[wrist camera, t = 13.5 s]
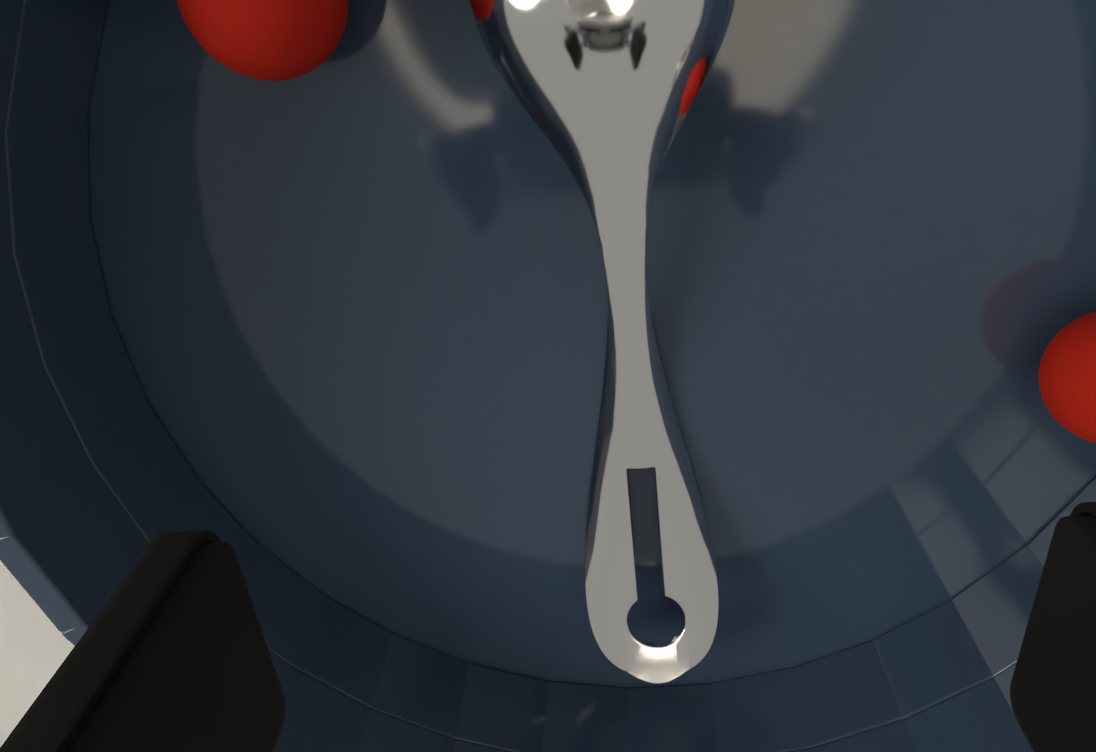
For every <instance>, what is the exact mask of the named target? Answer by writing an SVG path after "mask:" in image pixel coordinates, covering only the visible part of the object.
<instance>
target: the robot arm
mask: <svg viewBox="0 0 1096 752" xmlns="http://www.w3.org/2000/svg"><path fill="white" fill-rule="evenodd" d="M1010 700H1011V706H1012V709H1013V713H1014V715H1015V718H1016V720H1017V722H1018V724H1019V726H1020V727H1021V729H1022V731H1023V733H1024V735H1025V737H1026V738H1027V740H1028V742H1029V744H1030V746H1031V748H1032V749H1033V751H1034V752H1096V502H1084V503H1080V504H1078V505H1077V506H1076V507H1075V508H1074V509H1073V510H1072V512H1071V514H1070V516H1066V517H1062V518H1060V519H1059V520H1058V522H1057V524H1056V526H1055V529H1054V532H1053V536H1052V539H1051V543H1050V546H1049V550H1048V554H1047V557H1046V561H1045V564H1044V568H1043V571H1042V575H1041V578H1040V582H1039V585H1038V589H1037V592H1036V596H1035V599H1034V603H1033V606H1032V610H1031V613H1030V617H1029V620H1028V624H1027V628H1026V631H1025V635H1024V638H1023V642H1022V645H1021V649H1020V652H1019V656H1018V659H1017V663H1016V666H1015V670H1014V673H1013V677H1012V680H1011V684H1010ZM285 709H286V705H285V697H284V693H283V690H282V687H281V684H280V681H279V679H278V676H277V673H276V670H275V667H274V664H273V661H272V658H271V655H270V652H269V649H268V646H267V644H266V641H265V638H264V635H263V632H262V629H261V626H260V623H259V620H258V617H257V614H256V612H255V609H254V606H253V603H252V600H251V597H250V594H249V591H248V588H247V585H246V582H245V580H244V577H243V574H242V571H241V568H240V565H239V562H238V559H237V556H236V553H235V551H234V549H233V547H232V546H231V545H230V544H229V543H225V542H223V543H221V541H220V539H219V537H218V535H217V534H215V533H214V532H213V531H179V532H164V533H161V534H159V535H158V536H157V537H156V538H155V539H154V540H153V541H152V542H151V543H150V545H149V546H148V547H147V549H146V550H145V551H144V553H143V554H142V556H141V557H140V558H139V560H138V561H137V562H136V564H135V565H134V566H133V568H132V569H131V571H130V572H129V573H128V575H127V576H126V577H125V579H124V580H123V581H122V583H121V584H120V586H119V587H118V588H117V590H116V591H115V592H114V594H113V595H112V596H111V598H110V599H109V601H108V602H107V603H106V605H105V606H104V607H103V609H102V610H101V611H100V613H99V614H98V615H97V617H96V618H95V620H94V621H93V622H92V624H91V625H90V626H89V628H88V629H87V630H86V632H85V633H84V635H83V636H82V637H81V639H80V640H79V641H78V643H77V644H76V645H75V647H74V648H73V650H72V651H71V652H70V654H69V655H68V656H67V658H66V659H65V660H64V662H63V663H62V665H61V666H60V667H59V669H58V670H57V671H56V673H55V674H54V675H53V677H52V678H51V680H50V681H49V682H48V684H47V685H46V686H45V688H44V689H43V690H42V692H41V693H40V695H39V696H38V697H37V699H36V700H35V701H34V703H33V704H32V705H31V707H30V708H29V710H28V711H27V712H26V714H25V715H24V716H23V718H22V719H21V720H20V722H19V723H18V725H17V726H16V727H15V729H14V730H13V731H12V733H11V734H10V735H9V737H8V738H7V740H6V741H5V742H4V744H3V745H2V746H1V748H0V752H273V751H274V748H275V745H276V743H277V740H278V738H279V735H280V733H281V730H282V727H283V724H284V719H285Z"/></svg>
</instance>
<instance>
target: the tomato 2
mask: <svg viewBox="0 0 1096 752" xmlns="http://www.w3.org/2000/svg"><path fill="white" fill-rule="evenodd" d="M1038 382H1039V390H1040V393H1041V397H1042V399H1043V401H1044V403H1045V406H1046V407H1047V409H1048V410H1049V412H1050V413H1051V415H1052V416H1053V417H1054V418H1055V419H1056V420H1057V422H1058V423H1059V424H1061V425H1062V426H1063V427H1064V428H1065V429H1067V430H1068V431H1070V432H1071V433H1073V434H1074V435H1076V436H1078V437H1080V438H1082V439H1084V440H1087V441H1089V442H1092V443H1095V444H1096V311H1094V312H1092V313H1089V314H1086V315H1084V316H1082V317H1080V318H1077V319H1076V320H1074V321H1072V322H1071V323H1069V324H1068V325H1066V326H1065V327H1064V328H1063V329H1062V330H1060V331H1059V332H1058V333H1057V334H1056V336H1055V337H1054V338H1053V339H1052V340H1051V342H1050V343H1049V344H1048V346H1047V347H1046V349H1045V351H1044V353H1043V356H1042V358H1041V361H1040V366H1039V371H1038Z"/></svg>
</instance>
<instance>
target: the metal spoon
mask: <svg viewBox="0 0 1096 752" xmlns="http://www.w3.org/2000/svg"><path fill="white" fill-rule="evenodd" d="M470 4H471V9H472V13H473V16H474V19H475V23H476V26H477V28H478V31H479V34H480V36H481V39H482V41H483V43H484V46H485V48H486V50H487V52H488V54H489V56H490V58H491V60H492V61H493V63H494V65H495V67H496V68H497V70H498V72H499V74H500V75H501V77H502V78H503V80H504V81H505V83H506V84H507V86H508V87H509V89H510V90H511V91H512V93H513V94H514V96H515V97H516V98H517V100H518V101H519V102H520V104H521V105H522V106H523V108H524V109H525V110H526V111H527V113H528V114H529V115H530V117H531V118H532V119H533V120H534V122H535V123H536V124H537V126H538V127H539V128H540V129H541V131H542V132H543V133H544V134H545V136H546V137H547V138H548V140H549V141H550V142H551V143H552V145H553V146H554V148H555V149H556V150H557V152H558V153H559V154H560V156H561V157H562V159H563V160H564V162H565V163H566V164H567V166H568V168H569V169H570V171H571V172H572V174H573V176H574V177H575V179H576V181H577V183H578V185H579V187H580V189H581V191H582V193H583V195H584V197H585V200H586V202H587V204H588V207H589V209H590V212H591V214H592V217H593V220H594V223H595V227H596V230H597V233H598V237H599V241H600V245H601V250H602V255H603V260H604V267H605V275H606V285H607V306H608V321H607V346H606V359H605V370H604V380H603V389H602V398H601V406H600V414H599V422H598V430H597V438H596V446H595V453H594V461H593V469H592V477H591V486H590V495H589V505H588V515H587V528H586V544H585V590H586V602H587V609H588V615H589V620H590V624H591V628H592V631H593V634H594V637H595V639H596V642H597V644H598V646H599V647H600V649H601V651H602V652H603V654H604V655H605V656H606V657H607V659H608V660H609V661H610V662H611V663H612V664H614V665H615V666H617V667H618V668H620V669H621V670H623V671H626V672H628V673H630V674H631V675H633V676H635V677H637V678H639V679H642V680H644V681H647V682H650V683H665V682H668V681H671V680H673V679H675V678H677V677H678V676H680V675H681V674H683V673H684V672H686V671H688V670H689V669H691V668H693V667H694V666H695V665H697V664H698V663H699V662H700V661H701V660H702V659H703V658H704V657H705V656H706V654H707V653H708V651H709V649H710V647H711V645H712V643H713V640H714V637H715V633H716V628H717V622H718V610H719V600H718V583H717V574H716V567H715V560H714V555H713V549H712V544H711V539H710V535H709V530H708V526H707V521H706V517H705V513H704V509H703V505H702V501H701V498H700V494H699V490H698V486H697V483H696V479H695V476H694V472H693V469H692V465H691V462H690V459H689V455H688V452H687V448H686V445H685V442H684V438H683V435H682V432H681V428H680V425H679V421H678V418H677V415H676V411H675V408H674V404H673V401H672V398H671V394H670V391H669V387H668V384H667V380H666V376H665V373H664V369H663V365H662V362H661V358H660V354H659V350H658V345H657V341H656V337H655V332H654V327H653V322H652V317H651V311H650V305H649V298H648V289H647V278H646V237H647V226H648V219H649V213H650V207H651V202H652V198H653V194H654V189H655V186H656V183H657V179H658V176H659V173H660V170H661V168H662V165H663V162H664V160H665V158H666V155H667V153H668V151H669V148H670V146H671V144H672V142H673V140H674V138H675V136H676V134H677V132H678V130H679V128H680V126H681V124H682V123H683V121H684V119H685V117H686V115H687V113H688V111H689V109H690V108H691V106H692V104H693V102H694V100H695V98H696V96H697V95H698V93H699V91H700V89H701V87H702V85H703V83H704V81H705V79H706V77H707V75H708V73H709V71H710V69H711V67H712V65H713V63H714V61H715V59H716V56H717V54H718V52H719V50H720V47H721V45H722V42H723V40H724V37H725V34H726V32H727V29H728V26H729V23H730V19H731V16H732V12H733V8H734V4H735V0H470ZM646 468H655V481H656V495H657V508H658V521H659V535H660V548H661V561H662V574H663V588H664V596H666V597H668V598H671V599H672V600H674V601H675V602H676V603H677V604H678V605H679V606H680V607H681V609H682V611H683V614H684V623H683V626H682V628H681V630H680V631H679V633H678V634H677V635H676V636H674V637H673V638H672V639H670V640H668V641H664V642H659V643H654V642H648V641H645V640H643V639H641V638H639V637H638V636H637V635H636V634H635V633H634V632H633V631H632V630H631V628H630V626H629V623H628V614H629V611H630V609H631V607H632V606H633V605H634V604H635V602H637V601H638V589H637V577H636V566H635V554H634V542H633V531H632V519H631V507H630V496H629V484H628V472H627V470H628V469H646Z"/></svg>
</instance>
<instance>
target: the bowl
mask: <svg viewBox="0 0 1096 752" xmlns="http://www.w3.org/2000/svg"><path fill="white" fill-rule="evenodd" d="M646 278H647V289H648V298H649V305H650V311H651V317H652V322H653V327H654V332H655V337H656V341H657V345H658V350H659V354H660V358H661V362H662V365H663V369H664V373H665V376H666V380H667V384H668V387H669V391H670V394H671V398H672V401H673V404H674V408H675V411H676V415H677V418H678V421H679V425H680V428H681V432H682V435H683V438H684V442H685V445H686V448H687V452H688V455H689V459H690V462H691V465H692V469H693V472H694V476H695V479H696V483H697V486H698V490H699V494H700V498H701V501H702V505H703V509H704V513H705V517H706V521H707V526H708V530H709V535H710V539H711V544H712V549H713V555H714V560H715V567H716V574H717V583H718V600H719V610H718V622H717V628H716V633H715V637H714V640H713V643H712V645H711V647H710V649H709V651H708V653H707V654H706V656H705V657H704V658H703V659H702V660H701V661H700V662H699V663H698V664H697V665H695V666H694V667H693V668H691V669H689V670H688V671H686V672H684V673H683V674H681V675H680V676H678V677H677V678H675V679H673V680H671V681H668V682H665V683H650V682H647V681H644V680H642V679H639V678H637V677H635V676H633V675H631V674H630V673H628V672H626V671H623V670H621V669H620V668H618V667H617V666H615V665H614V664H612V663H611V662H610V661H609V660H608V659H607V657H606V656H605V655H604V654H603V652H602V651H601V649H600V647H599V646H598V644H597V642H596V639H595V637H594V634H593V631H592V628H591V624H590V620H589V615H588V609H587V602H586V590H585V544H586V528H587V515H588V505H589V495H590V486H591V477H592V469H593V461H594V453H595V446H596V438H597V430H598V422H599V414H600V406H601V398H602V389H603V380H604V370H605V359H606V346H607V321H608V306H607V285H606V275H605V267H604V260H603V255H602V250H601V245H600V241H599V237H598V233H597V230H596V227H595V223H594V220H593V217H592V214H591V212H590V209H589V207H588V204H587V202H586V200H585V197H584V195H583V193H582V191H581V189H580V187H579V185H578V183H577V181H576V179H575V177H574V176H573V174H572V172H571V171H570V169H569V168H568V166H567V164H566V163H565V162H564V160H563V159H562V157H561V156H560V154H559V153H558V152H557V150H556V149H555V148H554V146H553V145H552V143H551V142H550V141H549V140H548V138H547V137H546V136H545V134H544V133H543V132H542V131H541V129H540V128H539V127H538V126H537V124H536V123H535V122H534V120H533V119H532V118H531V117H530V115H529V114H528V113H527V111H526V110H525V109H524V108H523V106H522V105H521V104H520V102H519V101H518V100H517V98H516V97H515V96H514V94H513V93H512V91H511V90H510V89H509V87H508V86H507V84H506V83H505V81H504V80H503V78H502V77H501V75H500V74H499V72H498V70H497V68H496V67H495V65H494V63H493V61H492V60H491V58H490V56H489V54H488V52H487V50H486V48H485V46H484V43H483V41H482V39H481V36H480V34H479V31H478V28H477V26H476V23H475V19H474V16H473V13H472V9H471V4H470V0H349V9H348V18H347V22H346V26H345V30H344V33H343V35H342V37H341V40H340V42H339V43H338V45H337V47H336V48H335V50H334V51H333V52H332V54H331V55H330V56H329V57H328V58H327V59H326V60H325V61H324V62H323V63H322V64H321V65H320V66H318V67H317V68H315V69H314V70H312V71H311V72H309V73H306V74H304V75H302V76H299V77H296V78H293V79H287V80H278V81H269V80H260V79H255V78H251V77H248V76H245V75H242V74H240V73H237V72H235V71H233V70H231V69H229V68H227V67H226V66H224V65H223V64H221V63H220V62H218V61H217V60H215V59H214V58H213V57H212V56H211V55H210V54H208V53H207V52H206V51H205V50H204V48H203V47H202V46H201V45H200V44H199V43H198V42H197V40H196V39H195V38H194V36H193V35H192V34H191V32H190V31H189V29H188V27H187V25H186V24H185V22H184V20H183V17H182V15H181V13H180V10H179V7H178V4H177V0H0V560H1V562H2V563H3V564H4V565H5V566H6V568H7V569H8V570H9V571H10V572H11V574H12V575H13V576H14V577H15V578H16V580H17V581H18V582H19V583H20V584H21V586H22V587H23V588H24V589H25V590H26V592H27V593H28V594H29V595H30V596H31V598H32V599H33V600H34V601H35V602H36V604H37V605H38V606H39V607H40V608H41V610H42V611H43V612H44V613H45V614H46V616H47V617H48V618H49V619H50V620H51V622H52V623H53V624H54V625H55V626H56V628H57V629H58V630H59V631H60V632H62V634H63V636H64V637H66V638H67V639H68V640H69V641H70V642H71V643H72V644H73V645H76V644H77V643H78V641H79V640H80V639H81V637H82V636H83V635H84V633H85V632H86V630H87V629H88V628H89V626H90V625H91V624H92V622H93V621H94V620H95V618H96V617H97V615H98V614H99V613H100V611H101V610H102V609H103V607H104V606H105V605H106V603H107V602H108V601H109V599H110V598H111V596H112V595H113V594H114V592H115V591H116V590H117V588H118V587H119V586H120V584H121V583H122V581H123V580H124V579H125V577H126V576H127V575H128V573H129V572H130V571H131V569H132V568H133V566H134V565H135V564H136V562H137V561H138V560H139V558H140V557H141V556H142V554H143V553H144V551H145V550H146V549H147V547H148V546H149V545H150V543H151V542H152V541H153V540H154V539H155V538H156V537H157V536H158V535H159V534H161V533H164V532H179V531H213V532H214V533H215V534H217V535H218V537H219V539H220V541H221V543H223V542H225V543H229V544H230V545H231V546H232V547H233V549H234V551H235V553H236V556H237V559H238V562H239V565H240V568H241V571H242V574H243V577H244V580H245V582H246V585H247V588H248V591H249V594H250V597H251V600H252V603H253V606H254V609H255V612H256V614H257V617H258V620H259V623H260V626H261V629H262V632H263V635H264V638H265V641H266V644H267V646H268V649H269V652H270V655H271V658H272V661H273V664H274V667H275V670H276V673H277V676H278V679H279V681H280V684H281V687H282V690H283V693H284V697H285V705H286V709H285V719H284V724H283V727H282V730H281V733H280V735H279V738H278V740H277V743H276V745H275V748H274V751H273V752H1034V751H1033V749H1032V748H1031V746H1030V744H1029V742H1028V740H1027V738H1026V737H1025V735H1024V733H1023V731H1022V729H1021V727H1020V726H1019V724H1018V722H1017V720H1016V718H1015V715H1014V713H1013V709H1012V706H1011V700H1010V684H1011V680H1012V677H1013V673H1014V670H1015V666H1016V663H1017V659H1018V656H1019V652H1020V649H1021V645H1022V642H1023V638H1024V635H1025V631H1026V628H1027V624H1028V620H1029V617H1030V613H1031V610H1032V606H1033V603H1034V599H1035V596H1036V592H1037V589H1038V585H1039V582H1040V578H1041V575H1042V571H1043V568H1044V564H1045V561H1046V557H1047V554H1048V550H1049V546H1050V543H1051V539H1052V536H1053V532H1054V529H1055V526H1056V524H1057V522H1058V520H1059V519H1060V518H1062V517H1066V516H1070V514H1071V512H1072V510H1073V509H1074V508H1075V507H1076V506H1077V505H1078V504H1080V503H1084V502H1096V444H1095V443H1092V442H1089V441H1087V440H1084V439H1082V438H1080V437H1078V436H1076V435H1074V434H1073V433H1071V432H1070V431H1068V430H1067V429H1065V428H1064V427H1063V426H1062V425H1061V424H1059V423H1058V422H1057V420H1056V419H1055V418H1054V417H1053V416H1052V415H1051V413H1050V412H1049V410H1048V409H1047V407H1046V406H1045V403H1044V401H1043V399H1042V397H1041V393H1040V390H1039V382H1038V371H1039V366H1040V361H1041V358H1042V356H1043V353H1044V351H1045V349H1046V347H1047V346H1048V344H1049V343H1050V342H1051V340H1052V339H1053V338H1054V337H1055V336H1056V334H1057V333H1058V332H1059V331H1060V330H1062V329H1063V328H1064V327H1065V326H1066V325H1068V324H1069V323H1071V322H1072V321H1074V320H1076V319H1077V318H1080V317H1082V316H1084V315H1086V314H1089V313H1092V312H1094V311H1096V0H735V4H734V8H733V12H732V16H731V19H730V23H729V26H728V29H727V32H726V34H725V37H724V40H723V42H722V45H721V47H720V50H719V52H718V54H717V56H716V59H715V61H714V63H713V65H712V67H711V69H710V71H709V73H708V75H707V77H706V79H705V81H704V83H703V85H702V87H701V89H700V91H699V93H698V95H697V96H696V98H695V100H694V102H693V104H692V106H691V108H690V109H689V111H688V113H687V115H686V117H685V119H684V121H683V123H682V124H681V126H680V128H679V130H678V132H677V134H676V136H675V138H674V140H673V142H672V144H671V146H670V148H669V151H668V153H667V155H666V158H665V160H664V162H663V165H662V168H661V170H660V173H659V176H658V179H657V183H656V186H655V189H654V194H653V198H652V202H651V207H650V213H649V219H648V226H647V237H646ZM627 472H628V484H629V496H630V507H631V519H632V531H633V542H634V554H635V566H636V577H637V589H638V601H637V602H635V604H634V605H633V606H632V607H631V609H630V611H629V614H628V623H629V626H630V628H631V630H632V631H633V632H634V633H635V634H636V635H637V636H638V637H639V638H641V639H643V640H645V641H648V642H654V643H659V642H664V641H668V640H670V639H672V638H673V637H674V636H676V635H677V634H678V633H679V631H680V630H681V628H682V626H683V623H684V614H683V611H682V609H681V607H680V606H679V605H678V604H677V603H676V602H675V601H674V600H672V599H671V598H668V597H666V596H664V588H663V574H662V561H661V548H660V535H659V521H658V508H657V495H656V481H655V468H646V469H628V470H627Z"/></svg>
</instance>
